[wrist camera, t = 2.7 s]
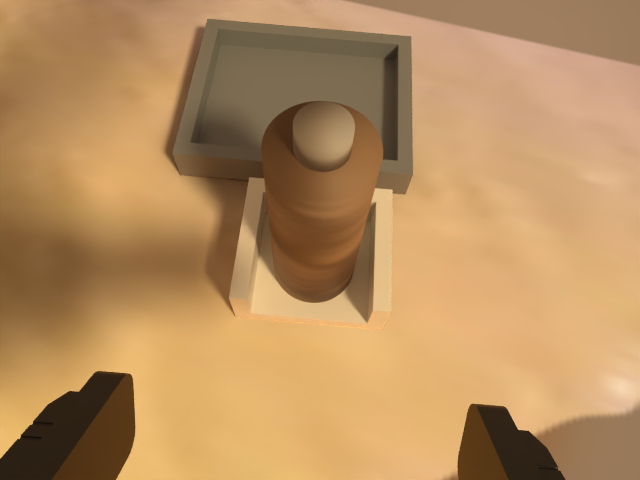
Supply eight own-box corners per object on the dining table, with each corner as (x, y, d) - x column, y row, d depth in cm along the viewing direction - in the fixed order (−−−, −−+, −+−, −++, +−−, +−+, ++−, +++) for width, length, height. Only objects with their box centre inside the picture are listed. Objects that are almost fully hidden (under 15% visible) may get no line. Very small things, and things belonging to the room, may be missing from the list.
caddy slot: (383, 216, 34) (392, 189, 30) (381, 329, 30) (391, 311, 27) (253, 205, 34) (249, 177, 30) (235, 317, 30) (228, 297, 27)
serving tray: (404, 61, 40) (411, 36, 38) (405, 194, 34) (412, 174, 32) (212, 44, 40) (207, 18, 38) (180, 174, 34) (172, 153, 32)
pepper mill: (355, 233, 32) (389, 82, 20) (351, 306, 30) (388, 185, 18) (278, 226, 32) (267, 71, 20) (269, 299, 30) (249, 173, 18)
